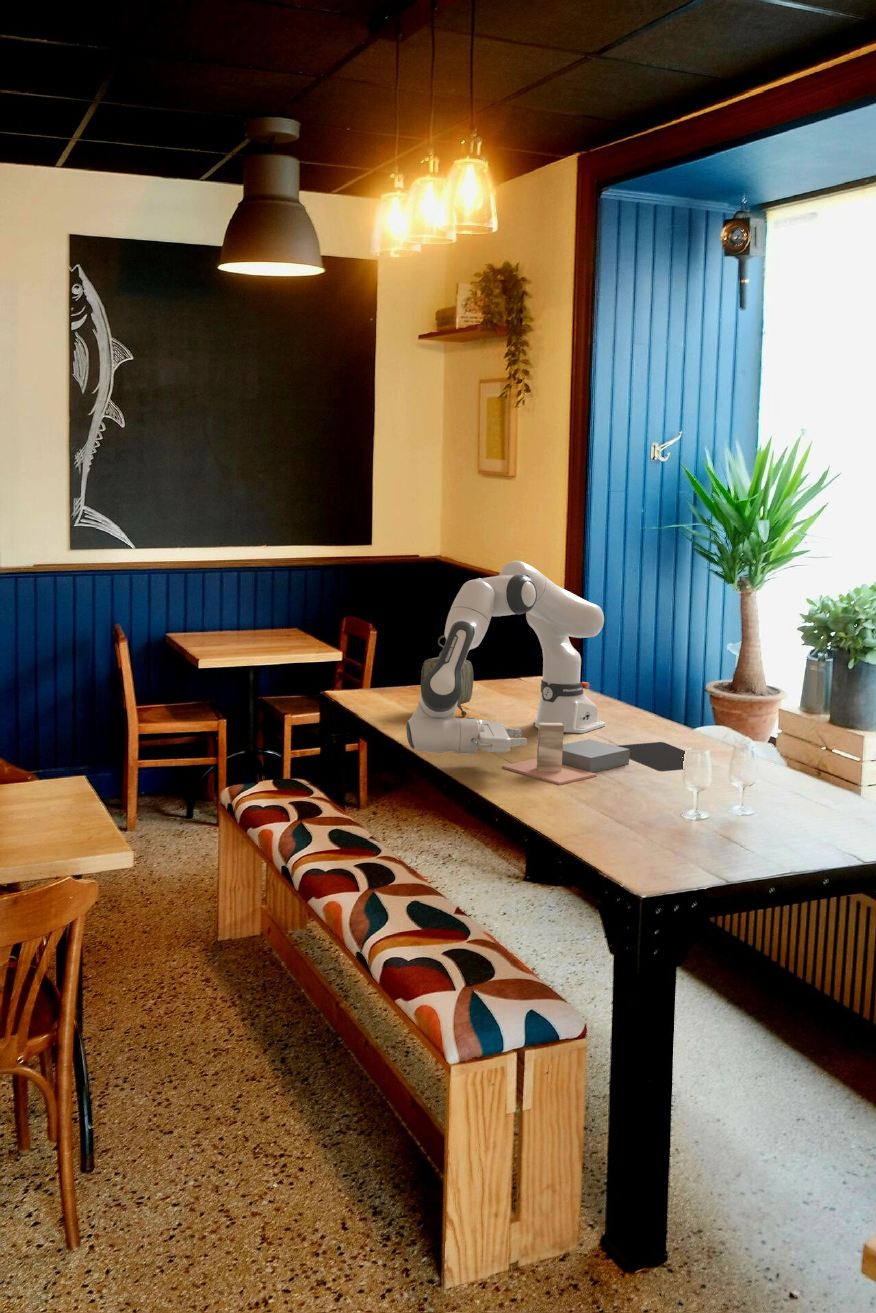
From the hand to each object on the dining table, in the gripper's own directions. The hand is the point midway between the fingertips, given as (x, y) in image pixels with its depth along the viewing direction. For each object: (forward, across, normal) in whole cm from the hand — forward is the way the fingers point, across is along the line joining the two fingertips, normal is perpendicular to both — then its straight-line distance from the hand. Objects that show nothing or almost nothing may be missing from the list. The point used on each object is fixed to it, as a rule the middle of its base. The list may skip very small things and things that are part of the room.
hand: (524, 737), depth 313 cm
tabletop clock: (-15, +66, +9) cm, 68 cm away
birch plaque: (+7, 0, +8) cm, 11 cm away
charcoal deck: (+19, +10, +9) cm, 24 cm away
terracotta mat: (+7, 0, +9) cm, 11 cm away
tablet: (+41, +19, +9) cm, 46 cm away
